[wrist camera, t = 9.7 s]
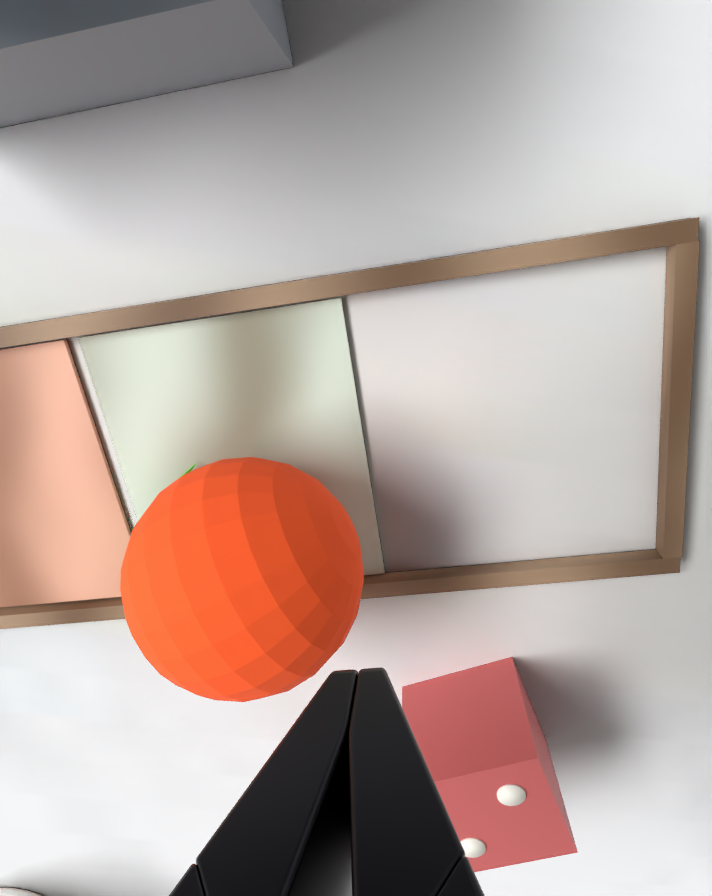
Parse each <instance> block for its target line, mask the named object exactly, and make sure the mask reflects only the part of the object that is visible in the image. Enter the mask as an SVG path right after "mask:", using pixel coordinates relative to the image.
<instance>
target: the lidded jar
mask: <svg viewBox="0 0 712 896" xmlns="http://www.w3.org/2000/svg"><path fill="white" fill-rule="evenodd" d="M0 896H42V895H40V894H37V893H34V892H31V891H27V890H23V889H17V888H0Z"/></svg>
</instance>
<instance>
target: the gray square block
mask: <svg viewBox="0 0 712 896" xmlns="http://www.w3.org/2000/svg"><path fill="white" fill-rule="evenodd" d="M291 67H293V62H292V56H291V50H290V44H289V38H288V32H287V26H286V20H285V14H284V8H283V2H282V0H0V128H2V127H6V126H11V125H16V124H21V123H26V122H31V121H35V120H40V119H45V118H50V117H55V116H59V115H64V114H69V113H74V112H79V111H84V110H88V109H93V108H98V107H103V106H108V105H113V104H117V103H122V102H127V101H132V100H137V99H142V98H146V97H151V96H156V95H161V94H166V93H170V92H175V91H180V90H185V89H190V88H195V87H199V86H204V85H209V84H214V83H219V82H224V81H228V80H233V79H238V78H243V77H248V76H252V75H257V74H262V73H267V72H272V71H277V70H281V69H286V68H291Z"/></svg>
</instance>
